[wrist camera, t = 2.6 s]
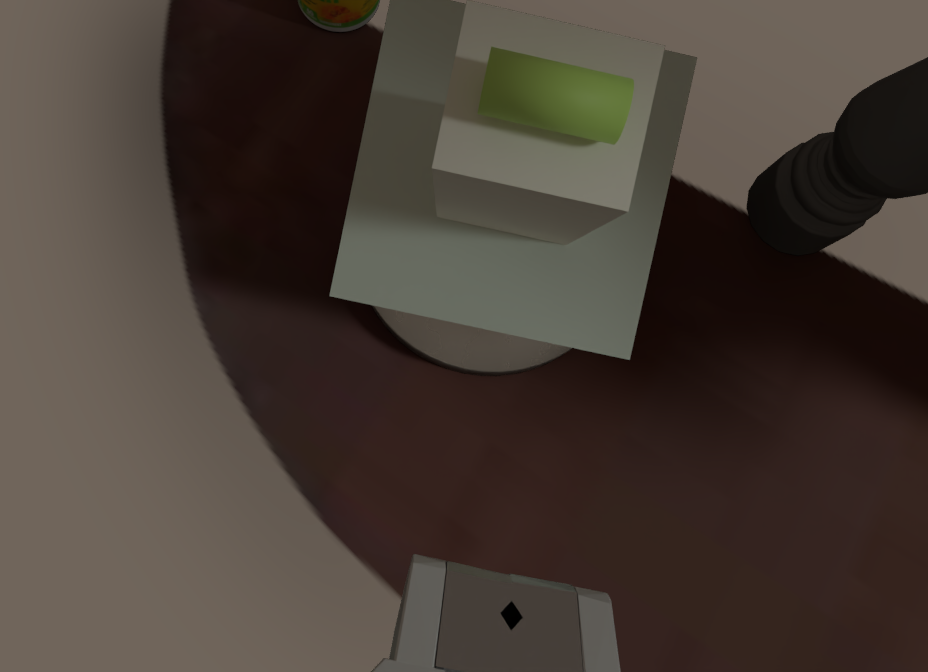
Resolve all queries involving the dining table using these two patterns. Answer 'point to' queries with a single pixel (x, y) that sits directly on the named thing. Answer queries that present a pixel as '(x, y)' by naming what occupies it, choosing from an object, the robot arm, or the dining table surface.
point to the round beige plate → (467, 345)
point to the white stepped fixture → (512, 173)
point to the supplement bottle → (339, 13)
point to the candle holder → (847, 168)
